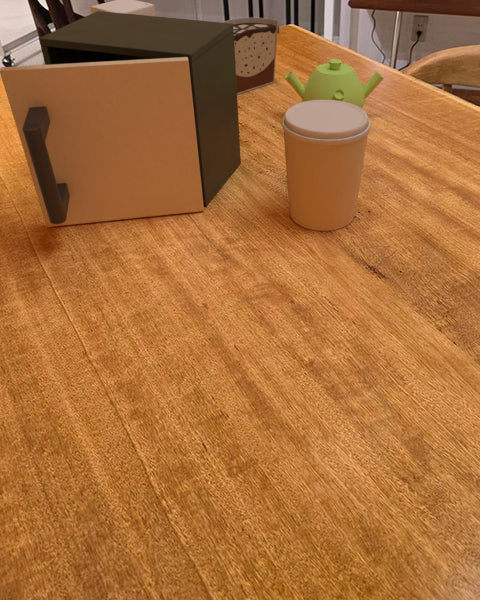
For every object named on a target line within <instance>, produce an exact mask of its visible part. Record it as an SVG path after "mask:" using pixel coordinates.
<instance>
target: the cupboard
mask: <svg viewBox="0 0 480 600" xmlns="http://www.w3.org/2000/svg"><path fill="white" fill-rule="evenodd" d="M38 41H39V46H40V49H41V53H42V57H43V61H44V65H52V64H70V63H88V62H106V61H124V60H142V59H160V58H178V57H188V60H189V70H190V79H191V89H192V99H193V108H194V118H195V128H196V137H197V147H198V157H199V166H200V176H201V186H202V195H203V205H204V208H206V207H208V205H209V204H210V203H211V202H212V200H213V199H214V198H215V196H216V195H217V194H218V193H219V192H220V190H221V189H222V188H223V187H224V185H225V184H226V183H227V182H228V180H229V179H230V178H231V176H232V175H233V174H234V172H236V170H237V169H238V168H239V166H241V164H242V159H241V141H240V123H239V105H238V95H237V84H236V65H235V47H234V31H233V24H231V23H222V22H220V21H219V22H218V21H211V20H210V21H209V20H198V19H189V18H188V19H187V18H177V17H166V16H157V15H156V16H146V15H135V14H125V13H114V12H104V11H97V12H95V13H92V12H91V13H90V14H88V15H86V16H84V17H82V18H79V19H78V20H74V21H73V22H71V23H69V24H66V25H64V26H62V27H60V28H58V29H56V30H54V31H52V32H49V33H47V34H45V35H42V36H41V37H38Z"/></svg>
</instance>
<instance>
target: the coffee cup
mask: <svg viewBox="0 0 480 600" xmlns="http://www.w3.org/2000/svg"><path fill="white" fill-rule="evenodd" d="M368 115H369V114H368V113H367V112H366V111H365V110H364V109H363V107H362V108H360V107H358V106H356V105H354V104H351V103H347V102H343V101H336V100H311V101H305V102H302V101H301V102H297V103H295V104H293V105H292V106H290V107H289V108H287V110H286V111H285V113H284V116H283V117H282V120H281V126H282V127H281V128H282V130H283V141H284V157H285V172H286V185H287V197H288V209H289V215H290V218H291V219H292V221H293V222H294V223H295V224H296V225H298V226H300V227H302V228H305V229H308V230H311V231H316V232H317V231H319V232H330V231H337V230H340V229H342V228H345V227H347V226H349V225H350V224H351V223H352V221H353V220H354V219H355V216H356V210H357V206H358V199H359V193H360V187H361V181H362V174H363V168H364V164H365V163H364V162H365V156H366V150H367V144H368V135H369V133H370V130H371V120H370V119H369V116H368Z"/></svg>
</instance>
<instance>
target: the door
mask: <svg viewBox="0 0 480 600" xmlns="http://www.w3.org/2000/svg"><path fill="white" fill-rule="evenodd" d="M0 78H1V81H2V84H3V87H4V90H5V94H6V97H7V100H8V104H9V107H10V110H11V114H12V117H13V120H14V123H15V124H14V125H15V126H16V130H17V133H18V137H19V139H20V143H21V146H22V149H23V153H24V156H25V159H26V164H27V166H28V169H29V172H30V176H31V179H32V182H33V186H34V188H35V189H34V190H35V192H36V195H37V198H38V202H39V205H40V208H41V212H42V216H43V219H44V222H45V225H46V227H47V228H51V227H60V226H62V227H63V226H71V225H72V226H73V225H81V224H89V223H101V222H109V221H110V222H111V221H119V220H131V219H139V218H148V217H159V216H168V215H179V214H188V213H198V212H204V211H205V207H204V205H203V195H202V186H201V176H200V166H199V157H198V147H197V137H196V128H195V118H194V108H193V99H192V89H191V79H190V70H189V60H188V57H178V58H160V59H142V60H124V61H106V62H88V63H70V64H52V65H45V64H39V65H38V64H36V65H20V66H17V65H16V66H2V67H0Z"/></svg>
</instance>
